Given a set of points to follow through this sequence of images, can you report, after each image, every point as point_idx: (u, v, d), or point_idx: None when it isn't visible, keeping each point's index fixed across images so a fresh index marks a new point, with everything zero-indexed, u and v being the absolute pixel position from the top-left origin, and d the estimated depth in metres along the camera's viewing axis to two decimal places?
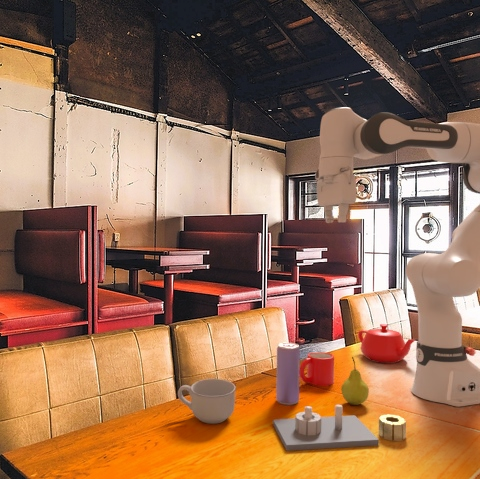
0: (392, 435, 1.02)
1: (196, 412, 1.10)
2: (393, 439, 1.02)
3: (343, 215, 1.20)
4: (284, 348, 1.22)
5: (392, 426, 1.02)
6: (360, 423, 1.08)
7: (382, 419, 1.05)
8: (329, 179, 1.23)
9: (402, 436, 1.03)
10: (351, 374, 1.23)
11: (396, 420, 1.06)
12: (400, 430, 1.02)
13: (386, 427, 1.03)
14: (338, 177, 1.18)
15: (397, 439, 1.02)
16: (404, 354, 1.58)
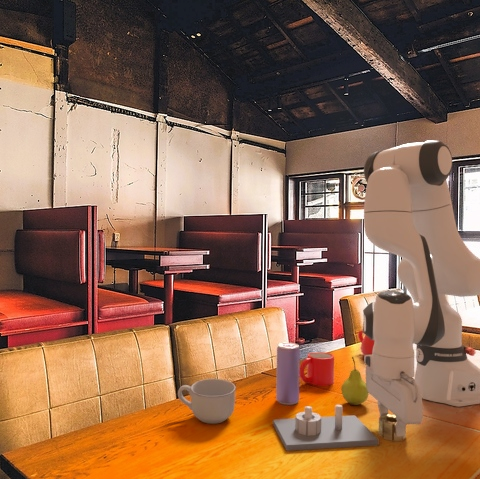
0: (392, 435, 1.02)
1: (196, 412, 1.10)
2: (393, 439, 1.02)
3: (401, 427, 1.01)
4: (284, 348, 1.22)
5: (392, 426, 1.02)
6: (360, 423, 1.08)
7: (382, 419, 1.05)
8: (386, 381, 1.02)
9: (402, 436, 1.03)
10: (351, 374, 1.23)
11: (396, 420, 1.06)
12: None
13: (386, 427, 1.03)
14: (400, 389, 0.97)
15: (397, 438, 1.02)
16: None
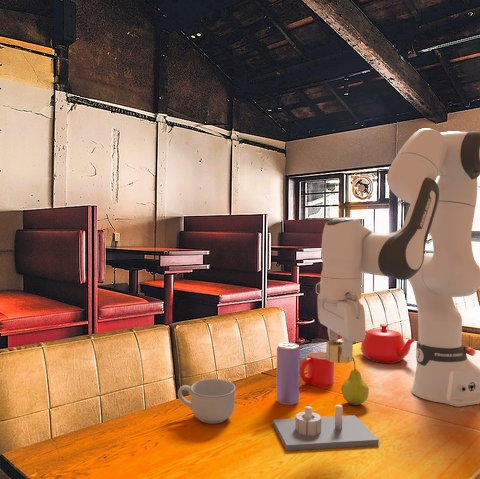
0: (338, 357, 1.03)
1: (196, 412, 1.10)
2: (339, 361, 1.03)
3: (347, 349, 1.01)
4: (284, 348, 1.22)
5: (338, 348, 1.03)
6: (360, 423, 1.08)
7: (330, 343, 1.05)
8: (332, 303, 1.03)
9: (348, 358, 1.03)
10: (351, 374, 1.23)
11: None
12: None
13: (332, 349, 1.03)
14: (344, 307, 0.98)
15: (343, 361, 1.03)
16: (404, 354, 1.58)
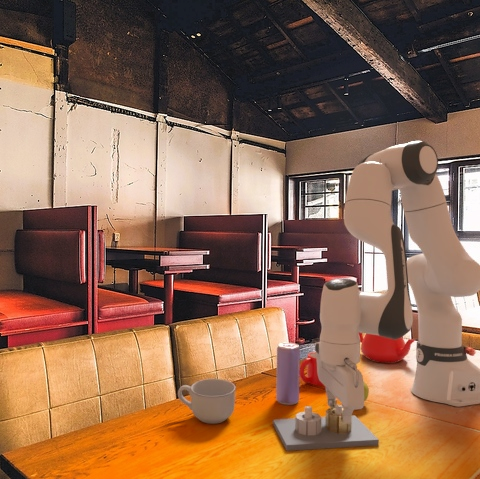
0: (337, 427, 1.03)
1: (196, 412, 1.10)
2: (338, 431, 1.03)
3: (347, 415, 1.01)
4: (284, 348, 1.22)
5: (337, 418, 1.03)
6: (360, 423, 1.08)
7: (329, 412, 1.06)
8: (331, 367, 1.03)
9: (347, 428, 1.03)
10: None
11: None
12: None
13: (331, 419, 1.04)
14: (343, 374, 0.98)
15: (342, 431, 1.03)
16: (404, 354, 1.58)
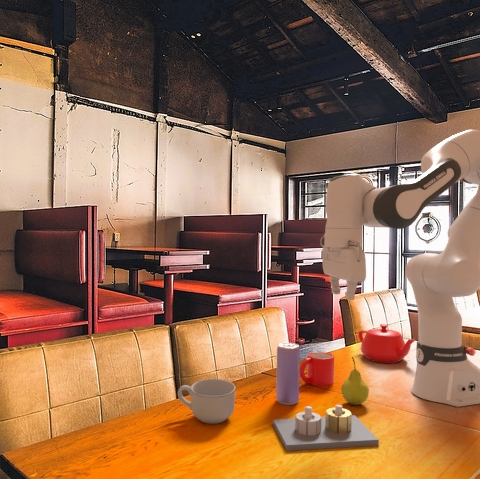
0: (337, 427, 1.03)
1: (196, 412, 1.10)
2: (338, 431, 1.03)
3: (351, 292, 1.11)
4: (284, 348, 1.22)
5: (337, 418, 1.03)
6: (360, 423, 1.08)
7: (329, 412, 1.06)
8: (336, 251, 1.14)
9: (347, 428, 1.03)
10: (351, 374, 1.23)
11: (343, 413, 1.06)
12: (345, 422, 1.03)
13: (331, 419, 1.04)
14: (346, 253, 1.09)
15: (342, 431, 1.03)
16: (404, 354, 1.58)
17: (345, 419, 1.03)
